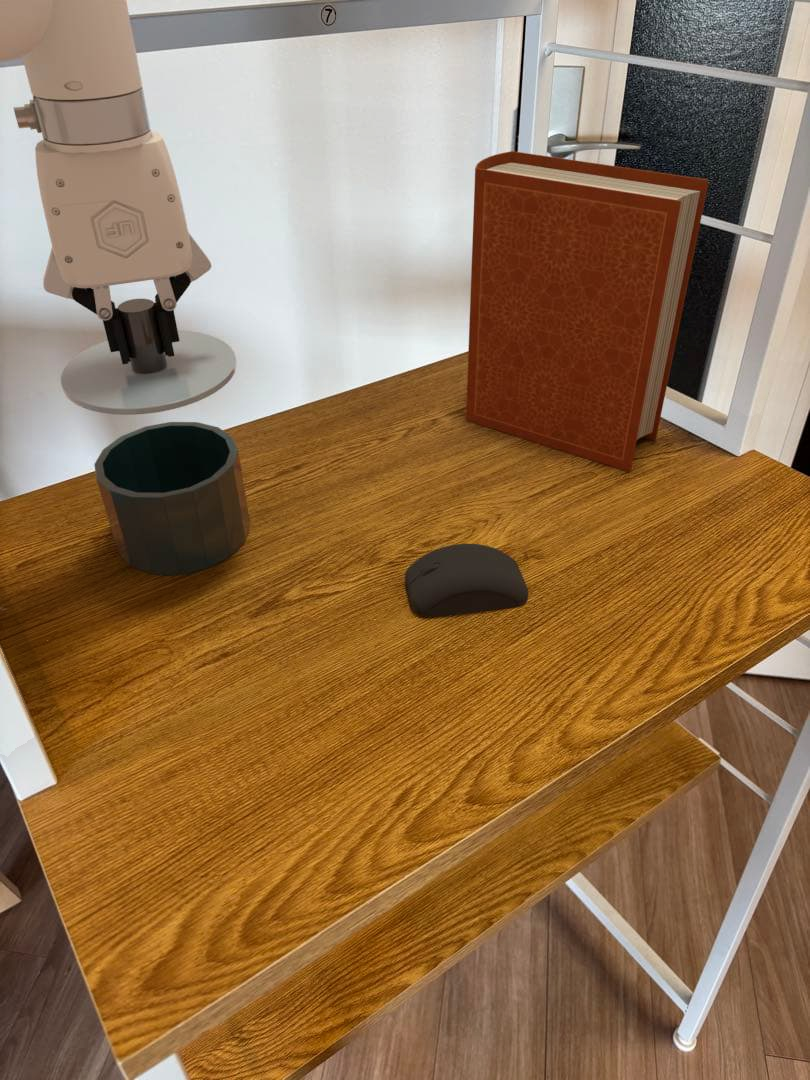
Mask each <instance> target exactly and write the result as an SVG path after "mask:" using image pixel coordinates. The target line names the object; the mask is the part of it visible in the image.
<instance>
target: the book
mask: <svg viewBox="0 0 810 1080" xmlns="http://www.w3.org/2000/svg"><path fill="white" fill-rule="evenodd" d="M709 182H710V179H706V178H700V177H692V176H686V175H679V174H672V173H664V172H658V171H652V170H644V169H637V168H631V167H624V166H617V165H610V164H605V163H595V162H589V161H583V160H577V159H568V158H562V157H555V156H548V155H541V154H536V153H535V154H533V153H528V152H521V151H514V150H510V151H505V152H501V153H496V154H492V155H490V156H487V157H486V158H483V159H481V160H480V161H479V162H478V163H476V165H475V168H474V189H473V191H474V192H473V193H474V194H473V198H474V199H473V219H472V241H471V242H472V243H471V244H472V246H471V270H470V271H471V272H470V302H469V321H468V322H469V324H468V325H469V327H468V349H467V350H468V353H467V377H466V378H467V380H466V402H465V403H466V404H465V405H466V406H465V421H467V422H470V423H473V424H476V425H480V426H483V427H486V428H489V429H492V430H495V431H499V432H502V433H505V434H509V435H512V436H514V437H518V438H520V439H523V440H526V441H531V442H533V443H537V444H539V445H543V446H546V447H550V448H553V449H555V450H559V451H562V452H566V453H569V454H572V455H575V456H578V457H581V458H585V459H588V460H590V461H594V462H597V463H600V464H603V465H607V466H609V467H613V468H616V469H619V470H623V471H624V472H625V471H626V472H628V473H631V472H632V467H633V463H634V457H635V452H636V446H637V441H638V440H639V439H641V438H643V439H647V440H651V441H654V442H656V440H657V437H658V431H659V426H660V422H661V416H662V412H663V407H664V403H665V398H666V392H667V387H668V383H669V378H670V372H671V368H672V363H673V358H674V354H675V349H676V343H677V339H678V334H679V329H680V323H681V319H682V314H683V309H684V304H685V301H686V300H685V299H686V294H687V290H688V285H689V279H690V276H691V275H690V274H691V271H692V266H693V265H692V264H693V261H694V255H695V251H696V246H697V242H698V241H697V240H698V236H699V230H700V227H701V220H702V216H703V211H704V208H705V207H704V206H705V201H706V197H707V191H708V188H709Z"/></svg>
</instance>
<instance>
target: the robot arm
mask: <svg viewBox="0 0 810 1080" xmlns="http://www.w3.org/2000/svg"><path fill="white" fill-rule="evenodd" d="M129 13H130V12H129V8H128V2H127V0H0V63H3V62H11V61H14V60H16V59H20V58H21V59H22V62H23V65H24V70H25V74H26V77H27V80H28V85H29V89H30V93H31V95H32V99H29V103H25V104H24V105H23V106H15V107H13V112H14V116H15V120H16V124H17V127H18V129H27V128H30V130H31V131H32V130H36V132H37V134H40V133H41V135H42V140H40V141H38V142H37V143H36V145H35V147H34V148H35V149H34V150H35V165H36V166H35V168H36V174H37V181H38V182H37V183H38V188H39V194H40V199H41V203H42V209H43V213H44V217H45V222H46V226H47V227H46V228H47V230H48V235H49V239H50V244H51V249H50V252H49V256H48V260H47V264H46V268H45V271H44V275H43V280H42V282H43V285H42V286H43V288H44V291H46V292H47V293H48V294H52V295H55V296H58V297H61V298H65V299H70V300H73V301H74V302H76V303H77V304H79V305H81V306H82V307H84V308H85V309H86V310H88V311H90V312H92V313H93V314H95V315H96V316H97V317H98V318H99V319H100V320H101V321H102V324H103V327H104V331H105V335H106V339H107V341H108V343H109V347H110V351H111V352H116V351H119V352H120V356H121V360H122V364H129V363H128V362H131V360H130V356H129V352H128V348H127V344H126V339H125V335H124V331H123V327H122V322H121V318H120V315H119V313H118V307H116V304H115V302H114V301H113V300H112V297H111V290H110V286H117V285H125V284H131V283H139V282H145V281H153V283H154V287H155V290H156V294H155V295H154V300H155V301H154V303H155V307H156V314H157V318H158V323H159V328H160V333H161V338H162V342H163V347H164V352H165V355H166V356H168V357H172V356H174V350H173V345H172V343H173V342H179V335H178V325H177V320H176V316H175V315H176V314H175V311H174V310H176V308H177V303H178V302H179V300H180V299H181V298H182V297H183V295H184V294H185V292H186V291H187V289H188V288H189V287H190V285H191V283H193V282H195V281H196V280H198V279H199V278H201V277H202V276H203V275H205V274H206V273H208V272H210V270H211V269H212V263H211V261H210V259H209V256H207V254H206V253H205V252H204V250H203V249H202V248H201V247H200V245H199V244H198V243H197V241H196V240H195V238H194V237H193V235H191V233H190V232H189V228H188V223H187V218H186V214H185V209H184V205H183V199H182V196H181V191H180V189H179V184H178V180H177V177H176V173H175V169H174V166H173V162H172V159H171V157H170V153H169V151H168V147H167V144H166V142H165V140H164V137H163V136H162V135H161V134H160V133H159V132H158V131H155V130H152V129H151V125H150V120H149V113H148V109H147V103H146V98H145V93H144V88H143V82H142V78H141V72H140V67H139V61H138V56H137V55H138V54H137V50H136V44H135V39H134V35H133V29H132V24H131V17H130V14H129Z"/></svg>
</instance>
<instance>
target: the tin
mask: <svg viewBox="0 0 810 1080" xmlns="http://www.w3.org/2000/svg"><path fill="white" fill-rule="evenodd" d="M94 472H95V478H96V483H97V486H98V490H99V492H100V496H101V499H102V503H103V506H104V509H105V513H106V517H107V520H108V523H109V526H110V530H111V534H112V536H113V540H114V543H115V547H116V550H117V553H118V554H119V555H120V557H121V559H122V560H123V561H124V562H125V563H127V564H128V565H129V566H131V567H132V568H133V569H136V570H137V571H141V572H144V573H147V574H152V575H158V576H179V575H187V574H193V573H197V572H201V571H203V570H207V569H208V568H212V567H214V566H217V565H218V564H220V563H222V562H224V561H226V560H227V559H229V558H230V557H231V556H233V555H235V553H236V552H237V551H238V550H239V549H240V548H241V547H242V546H243V544H244V543H245V541H246V539H247V538H248V535H249V532H250V531H249V530H250V522H251V521H250V515H249V507H248V503H247V496H246V491H245V483H244V478H243V477H244V476H243V471H242V466H241V459H240V453H239V449H238V446H237V444H236V442H235V439H234V437H233V436H232V435H231V434H229V433H228V432H226V431H224V430H223V429H221V428H220V427H219V426H215V425H210V424H206V423H202V422H199V421H168V422H167V421H166V422H162V423H157V424H153V425H152V424H151V425H148V426H143V427H141V428H138V429H136V430H133V431H130V432H127V433H126V434H125V433H124V434H123V435H121V436H120V437H118V438H117V439H114V441H112V442H111V443H110V444H109V445H107V446H106V447H104V448H103V449H102V450H101V452H100V454H99V456H98V457H97V458H96V461H95V462H94Z"/></svg>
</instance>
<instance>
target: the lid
mask: <svg viewBox="0 0 810 1080" xmlns="http://www.w3.org/2000/svg"><path fill="white" fill-rule="evenodd" d="M155 303H156V302H155V301H153V300H151V299H148V298H132V299H128V300H124V301H122V302H121V303H119V304H118V305H117V308H118V313H119V315H120V318H121V322H122V327H123V331H124V335H125V339H126V344H127V348H128V352H129V356H130V360H131V362H128V363H129V364H122V360H121V356H120V352H119V351H116V352H111V351H110V347H109V343H108V340H105V341H103V342H100V343H97V344H95V345H93V346H91V347H89V348H87V349H85V350H83V351H81V352H80V353H78V354H77V355H76V356H75V357H73V358H72V359H71V360H70V361H69V362H68V363H67V364H66V365H65V367H64V368H63V370H62V372H61V375H60V385H61V389H62V392H63V394H64V395H65V397H66V398H67V399H68V400H69V401H70V402H72V403H73V404H75V405H76V406H79V407H80V408H83V409H85V410H88V411H92V412H95V413H96V412H97V413H101V414H109V415H120V416H121V415H123V416H129V415H130V416H131V415H133V416H134V415H135V416H137V415H147V414H156V413H162V412H167V411H172V410H175V409H180V408H183V407H186V406H189V405H192V404H195V403H197V402H199V401H202V400H204V399H207V398H208V397H210V396H211V395H214V394H215V393H217V392H218V391H220V390H221V389H223V388H224V387H225V386H226V385H227V384H228V383H229V382H230V381H231V380H232V379H233V376H234V375H235V373H236V370H237V357H236V354H235V352H234V350H233V348H232V347H231V346H230V345H229V344H228V343H226V342H225V341H223V339H220V338H218V337H215V336H213V335H210V334H206V333H202V332H198V331H191V330H182V329H181V330H180V329H179V330H178V329H177V330H178V335H179V342H173V343H172V345H173V350H174V356H172V357H168V356H166V355H165V352H164V347H163V342H162V338H161V333H160V328H159V323H158V318H157V314H156V307H155Z"/></svg>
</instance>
